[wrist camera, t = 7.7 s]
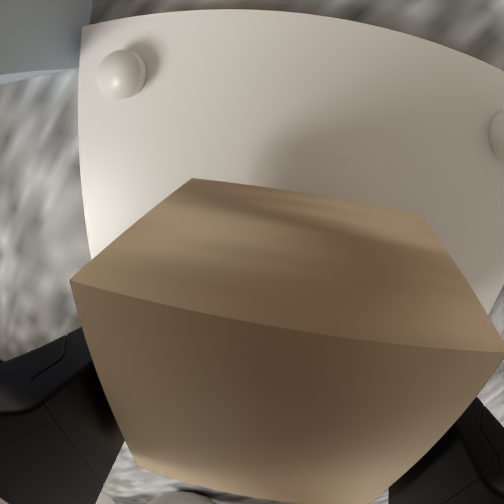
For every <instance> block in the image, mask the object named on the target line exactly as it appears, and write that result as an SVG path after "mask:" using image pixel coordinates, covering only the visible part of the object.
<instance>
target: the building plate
mask: <svg viewBox="0 0 504 504" xmlns="http://www.w3.org/2000/svg"><path fill="white" fill-rule="evenodd" d="M78 133H79V157H80V172H81V185H82V195H83V205H84V214H85V222H86V229H87V236H88V243H89V249H90V255H91V260H92V259H93V258H94V257H95V256H96V255H98V254H99V253H100V252H101V251H102V250H103V249H104V248H106V247H107V246H108V245H109V244H110V243H111V242H113V241H114V240H115V239H116V238H117V237H118V236H120V235H121V234H122V233H123V232H124V231H126V230H127V229H128V228H129V227H130V226H132V225H133V224H134V223H135V222H136V221H138V220H139V219H140V218H141V217H142V216H144V215H145V214H146V213H147V212H149V211H150V210H151V209H152V208H154V207H155V206H156V205H157V204H159V203H160V202H161V201H163V200H164V199H165V198H166V197H168V196H169V195H170V194H171V193H173V192H174V191H175V190H177V189H178V188H179V187H181V186H182V185H183V184H185V183H186V182H187V181H189V180H190V179H191V178H197V179H206V180H215V181H223V182H231V183H239V184H246V185H254V186H261V187H268V188H275V189H281V190H288V191H294V192H301V193H307V194H313V195H319V196H325V197H331V198H336V199H342V200H347V201H353V202H358V203H364V204H369V205H374V206H379V207H384V208H389V209H394V210H399V211H403V212H408V213H413V214H417V215H421V216H422V217H423V218H424V220H425V221H426V222H427V224H428V225H429V226H430V228H431V229H432V230H433V232H434V233H435V235H436V236H437V237H438V239H439V240H440V241H441V243H442V244H443V246H444V247H445V249H446V250H447V251H448V253H449V254H450V256H451V257H452V259H453V260H454V262H455V263H456V265H457V266H458V268H459V269H460V271H461V272H462V274H463V275H464V277H465V278H466V280H467V281H468V283H469V285H470V286H471V288H472V289H473V291H474V293H475V294H476V296H477V298H478V299H479V301H480V303H481V304H482V306H483V308H484V309H485V311H486V313H487V314H488V315H489V313H490V311H491V309H492V307H493V305H494V303H495V301H496V299H497V297H498V295H499V293H500V291H501V289H502V287H503V285H504V71H503V70H501V69H499V68H497V67H494V66H492V65H490V64H488V63H486V62H483V61H481V60H479V59H476V58H474V57H472V56H469V55H467V54H464V53H462V52H459V51H457V50H454V49H451V48H449V47H446V46H443V45H440V44H437V43H434V42H431V41H428V40H425V39H422V38H419V37H416V36H412V35H409V34H405V33H402V32H398V31H394V30H391V29H387V28H383V27H378V26H374V25H370V24H365V23H360V22H355V21H350V20H345V19H339V18H333V17H326V16H319V15H312V14H303V13H294V12H283V11H269V10H245V9H215V10H191V11H177V12H166V13H156V14H148V15H141V16H134V17H127V18H121V19H116V20H110V21H105V22H100V23H96V24H91V25H87V26H82V36H81V48H80V62H79V85H78Z"/></svg>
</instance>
